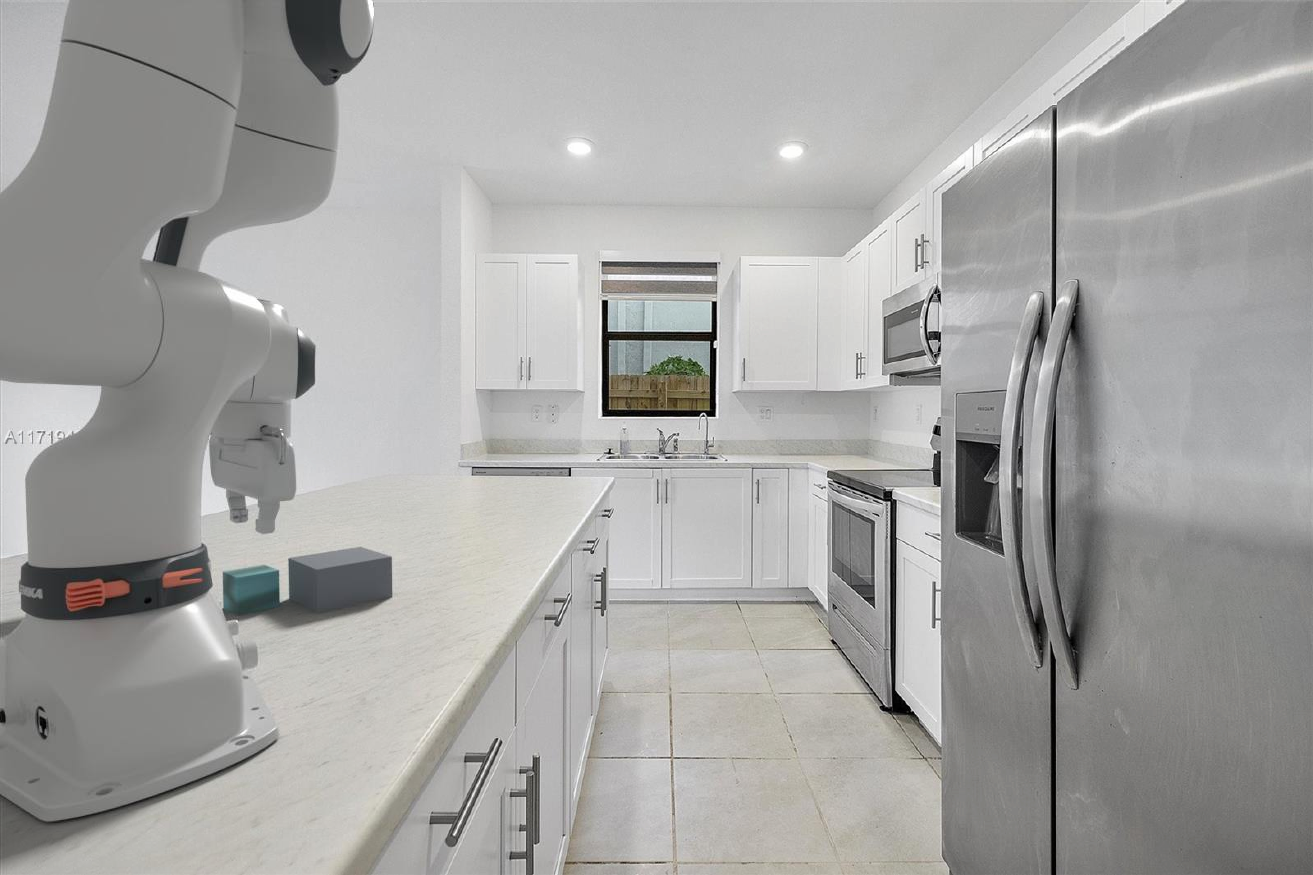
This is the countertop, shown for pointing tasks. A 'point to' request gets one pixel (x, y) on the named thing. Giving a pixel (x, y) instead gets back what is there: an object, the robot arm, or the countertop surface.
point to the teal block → (251, 589)
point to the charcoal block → (339, 579)
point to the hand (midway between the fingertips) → (251, 527)
